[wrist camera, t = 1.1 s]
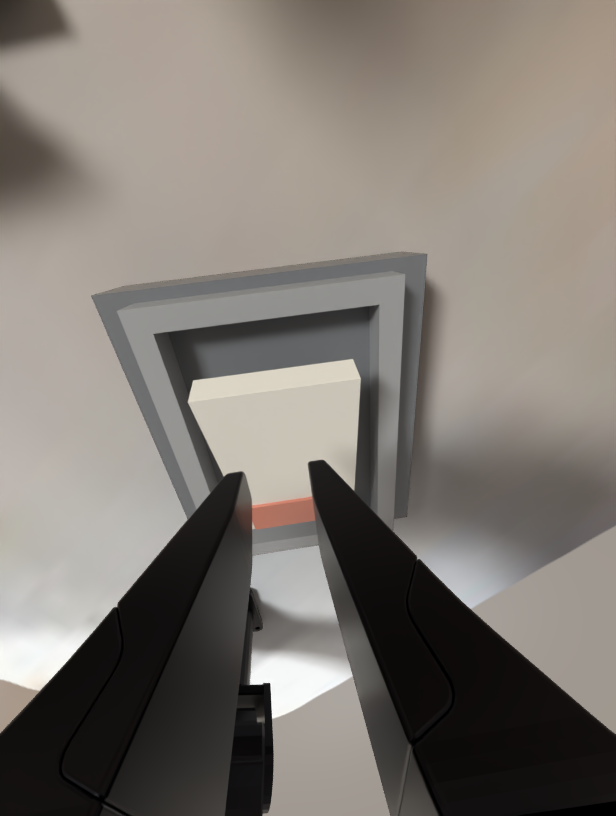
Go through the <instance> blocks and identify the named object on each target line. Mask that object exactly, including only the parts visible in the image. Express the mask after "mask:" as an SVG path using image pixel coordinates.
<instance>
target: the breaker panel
mask: <svg viewBox="0 0 616 816" xmlns="http://www.w3.org/2000/svg"><path fill="white" fill-rule="evenodd" d="M426 266H427V254H423V253H410V252H396V253H388V254H380V255H372V256H364V257H356V258H348V259H340V260H331V261H323V262H315V263H307V264H299V265H291V266H283V267H275V268H267V269H259V270H251V271H243V272H235V273H226V274H218V275H210V276H202V277H194V278H186V279H178V280H170V281H162V282H154V283H146V284H138V285H130V286H123V287H119V288H116V289H112V290H109V291H105V292H102V293H99V294H95V295H92V296H91V297H92V299H93V301H94V303H95V306H96V308H97V310H98V313H99V315H100V317H101V320H102V322H103V324H104V327H105V329H106V331H107V334H108V336H109V338H110V341H111V343H112V345H113V347H114V350H115V352H116V354H117V357H118V359H119V361H120V364H121V366H122V368H123V371H124V373H125V375H126V378H127V380H128V382H129V384H130V387H131V389H132V391H133V394H134V396H135V398H136V401H137V403H138V405H139V408H140V410H141V412H142V415H143V417H144V419H145V421H146V424H147V426H148V428H149V431H150V433H151V435H152V438H153V440H154V442H155V445H156V447H157V449H158V452H159V454H160V456H161V458H162V461H163V463H164V465H165V468H166V470H167V472H168V475H169V477H170V479H171V482H172V484H173V486H174V489H175V491H176V493H177V495H178V498H179V500H180V502H181V505H182V507H183V509H184V512H185V514H186V516H187V519H189V518H190V517H191V515H192V514H193V513H194V512H195V511H196V509H197V508H198V507H199V506H200V505H201V503H202V502H203V501H204V500H205V499H206V498H207V496H208V495H209V494H210V493H211V492H212V490H213V489H214V488H215V487H216V486H217V484H218V483H219V482H220V481H221V480H222V479H223V477H224V476H223V474H222V472H221V470H220V468H219V466H218V464H217V462H216V460H215V457H214V455H213V453H212V451H211V449H210V447H209V445H208V443H207V441H206V439H205V437H204V435H203V433H202V431H201V429H200V427H199V424H198V422H197V420H196V418H195V416H194V414H193V412H192V410H191V408H190V406H189V404H188V399H189V395H190V391H191V387H192V383H193V380H201V379H208V378H215V377H223V376H230V375H238V374H245V373H253V372H260V371H267V370H275V369H282V368H290V367H297V366H304V365H312V364H319V363H327V362H334V361H341V360H349V359H353V360H354V363H355V365H356V368H357V370H358V373H359V375H360V378H361V383H360V401H359V418H358V436H357V453H356V471H355V489H354V491H355V492H356V493H357V494H358V495H359V496H360V498H361V499H362V500H363V501H364V502H365V503H366V504H367V505H368V506H369V507H370V508H371V509H372V510H373V511H374V512H375V513H376V514H377V515H378V516H379V517H380V518H381V519H382V520H383V521H384V523H385V524H386V525H387V526H388V527H389V528H390V529H391V530H392V531H393V525H394V519H395V518H402V517H407V510H408V497H409V484H410V472H411V459H412V446H413V433H414V420H415V407H416V394H417V381H418V369H419V356H420V343H421V330H422V317H423V304H424V291H425V278H426ZM317 545H319V542H318V535H317V528H316V521H310V522H303V523H297V524H290V525H283V526H277V527H270V528H264V529H257V530H256V529H252V555H259V554H265V553H272V552H278V551H285V550H291V549H298V548H304V547H310V546H317Z"/></svg>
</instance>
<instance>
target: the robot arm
mask: <svg viewBox="0 0 616 816" xmlns="http://www.w3.org/2000/svg"><path fill="white" fill-rule="evenodd" d="M308 471H309V479H310V486H311V493H312V500H313V507H314V514H315V521H316V528H317V535H318V542H319V548H320V554H321V558H322V562H323V566H324V570H325V574H326V578H327V581H328V585H329V589H330V592H331V596H332V600H333V604H334V607H335V611H336V615H337V619H338V622H339V626H340V630H341V633H342V637H343V641H344V645H345V648H346V652H347V656H348V659H349V663H350V667H351V671H352V674H353V678H354V682H355V686H356V689H357V693H358V696H359V700H360V704H361V708H362V712H363V715H364V719H365V723H366V726H367V730H368V734H369V738H370V741H371V745H372V749H373V752H374V756H375V760H376V764H377V767H378V771H379V775H380V778H381V782H382V786H383V790H384V794H385V797H386V801H387V805H388V809H389V812H390V816H616V734H614V733H613V732H612V731H611V730H609V729H608V728H607V727H606V726H604V725H603V724H602V723H601V722H600V721H599V720H597V719H596V718H595V717H594V716H593V715H591V714H590V713H589V712H588V711H587V710H586V709H584V708H583V707H582V706H581V705H580V704H579V703H577V702H576V701H575V700H574V699H573V698H572V697H571V696H569V695H568V694H567V693H566V692H565V691H563V690H562V689H561V688H560V687H559V686H558V685H557V684H556V683H554V682H553V681H552V680H551V679H550V678H549V677H547V676H546V675H545V674H544V673H543V672H542V671H540V670H539V669H538V668H537V667H536V666H535V665H534V664H532V663H531V662H530V661H529V660H528V659H527V658H525V657H524V656H523V655H522V654H521V653H520V652H518V651H517V650H516V649H515V648H514V647H513V646H512V645H510V644H509V643H508V642H507V641H505V639H503V638H502V637H501V636H500V635H499V634H498V633H497V632H495V631H494V630H493V629H492V628H491V627H490V626H489V625H487V624H486V623H485V622H484V621H483V620H482V619H481V618H480V617H479V616H478V615H476V614H475V613H474V612H473V611H472V610H471V609H470V608H469V607H467V606H466V605H465V604H464V603H463V602H462V601H461V600H460V599H459V598H458V597H457V596H456V595H455V594H454V593H453V592H452V591H451V590H450V589H449V588H448V587H447V586H446V585H445V584H444V583H443V582H442V581H441V580H440V579H439V578H438V577H437V576H436V575H435V574H434V573H433V572H432V571H431V570H430V569H429V568H428V567H427V566H426V565H425V564H424V563H423V562H422V561H421V560H420V559H418V560H417V556H416V555H415V554H414V553H413V552H412V551H411V550H410V549H409V548H408V546H407V545H406V544H405V543H404V542H403V541H402V540H401V539H400V538H399V537H398V536H397V535H396V534H395V533H394V532H393V531H392V530H391V529H390V528H389V527H388V526H387V525H386V524H385V523H384V521H383V520H382V519H381V518H380V517H379V516H378V515H377V514H376V513H375V512H374V511H373V510H372V509H371V508H370V507H369V506H368V505H367V504H366V503H365V502H364V501H363V500H362V499H361V498H360V496H359V495H358V494H357V493H356V492H355V491H354V490H353V489H352V488H351V487H350V486H349V485H348V484H347V483H346V482H345V481H344V480H343V479H342V478H341V477H340V476H339V475H338V474H337V473H336V472H335V470H334V469H333V468H332V467H331V466H330V465H329V464H328V463H327V462H326V461H325V460H315V461H309V462H308ZM251 573H252V498H251V493H250V490H249V486H248V482H247V478H246V475H245V473H244V472H243V471H239V472H232V473H228V474H226V475H225V476H224V477H223V479H222V480H221V481H220V482H219V483H218V484H217V486H216V487H215V488H214V489H213V490H212V492H211V493H210V494H209V495H208V496H207V498H206V499H205V500H204V501H203V502H202V503H201V505H200V506H199V507H198V508H197V509H196V511H195V512H194V513H193V514H192V515H191V517H190V518H189V519H188V520H187V521H186V522H185V524H184V525H183V526H182V527H181V528H180V530H179V531H178V532H177V533H176V534H175V536H174V537H173V538H172V539H171V540H170V541H169V543H168V544H167V545H166V546H165V547H164V549H163V550H162V551H161V552H160V553H159V555H158V556H157V557H156V558H155V559H154V560H153V562H152V563H151V564H150V565H149V566H148V568H147V569H146V570H145V571H144V572H143V574H142V575H141V576H140V577H139V578H138V579H137V581H136V582H135V583H134V584H133V585H132V587H131V588H130V589H129V590H128V591H127V593H126V594H125V595H124V596H123V597H122V598H121V600H120V601H119V602H118V604H117V606H118V607H114V608H113V609H112V610H111V611H110V612H109V614H108V615H107V616H106V617H105V618H104V620H103V621H102V622H101V623H100V624H99V626H98V627H97V628H96V629H95V630H94V631H93V633H92V634H91V635H90V636H89V637H88V638H87V639H86V641H85V642H84V643H83V644H82V645H81V646H80V647H79V649H78V650H77V651H76V652H75V653H74V654H73V655H72V657H71V658H70V659H69V660H68V661H67V662H66V663H65V665H64V666H63V667H62V668H61V669H60V670H59V671H58V672H57V673H56V674H55V675H54V676H53V678H52V679H51V680H50V681H49V682H48V683H47V684H46V685H45V686H44V687H43V688H42V689H41V691H40V692H39V693H38V694H37V695H36V696H35V697H34V698H33V699H32V700H31V702H29V703H28V705H27V706H26V707H25V708H24V709H23V710H22V711H21V712H20V713H19V714H18V715H17V716H16V717H15V718H14V719H13V720H12V721H11V723H10V724H9V725H8V726H7V727H6V728H5V729H4V730H3V731H2V732H1V733H0V816H262V814H263V813H268V811H269V808H270V803H271V796H272V785H273V784H272V783H273V733H272V732H273V731H272V711H271V690H270V683H263V685H250V673H251V655H252V638H253V632H255V631H260V630H262V629H263V622H262V619H261V616H260V614H259V611H258V608H257V605H256V602H255V599H254V596H253V593H252V591H251V590H250V583H251Z"/></svg>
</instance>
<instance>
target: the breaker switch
mask: <svg viewBox="0 0 616 816" xmlns="http://www.w3.org/2000/svg"><path fill="white" fill-rule="evenodd" d="M360 383H361V378H360V375H359V373H358V370H357V368H356V365H355V363H354V360H353V359H349V360H341V361H334V362H327V363H319V364H312V365H304V366H297V367H290V368H282V369H275V370H267V371H260V372H253V373H245V374H238V375H230V376H223V377H215V378H208V379H201V380H193V383H192V387H191V391H190V395H189V399H188V404H189V406H190V408H191V410H192V412H193V414H194V416H195V418H196V420H197V422H198V424H199V427H200V429H201V431H202V433H203V435H204V437H205V439H206V441H207V443H208V445H209V447H210V449H211V451H212V453H213V455H214V457H215V460H216V462H217V464H218V466H219V468H220V470H221V472H222V474H223V476H225V475H226V474H228V473H232V472H239V471H243V472H244V473H245V475H246V478H247V482H248V486H249V490H250V493H251V498H252V529H256V530H257V529H264V528H270V527H277V526H283V525H290V524H297V523H303V522H310V521H315V514H314V507H313V500H312V493H311V486H310V479H309V471H308V462H309V461H315V460H325V461H326V462H327V463H328V464H329V465H330V466H331V467H332V468H333V469H334V470H335V472H336V473H337V474H338V475H339V476H340V477H341V478H342V479H343V480H344V481H345V482H346V483H347V484H348V485H349V486H350V487H351V488H352V489H353V490H354V489H355V471H356V453H357V436H358V418H359V401H360Z"/></svg>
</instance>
